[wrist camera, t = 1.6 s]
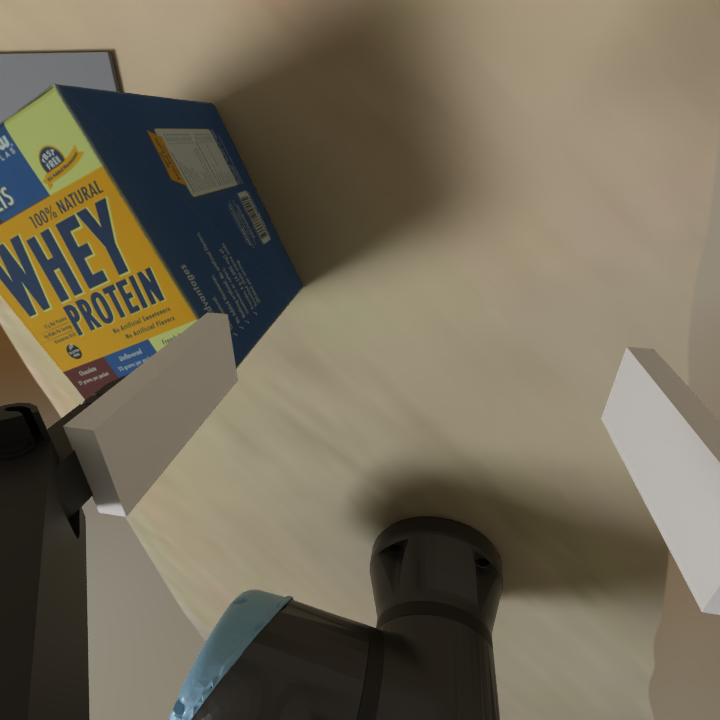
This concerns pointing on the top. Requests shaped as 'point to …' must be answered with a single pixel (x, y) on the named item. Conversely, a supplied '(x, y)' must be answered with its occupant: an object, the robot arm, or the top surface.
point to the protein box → (131, 230)
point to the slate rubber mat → (51, 75)
